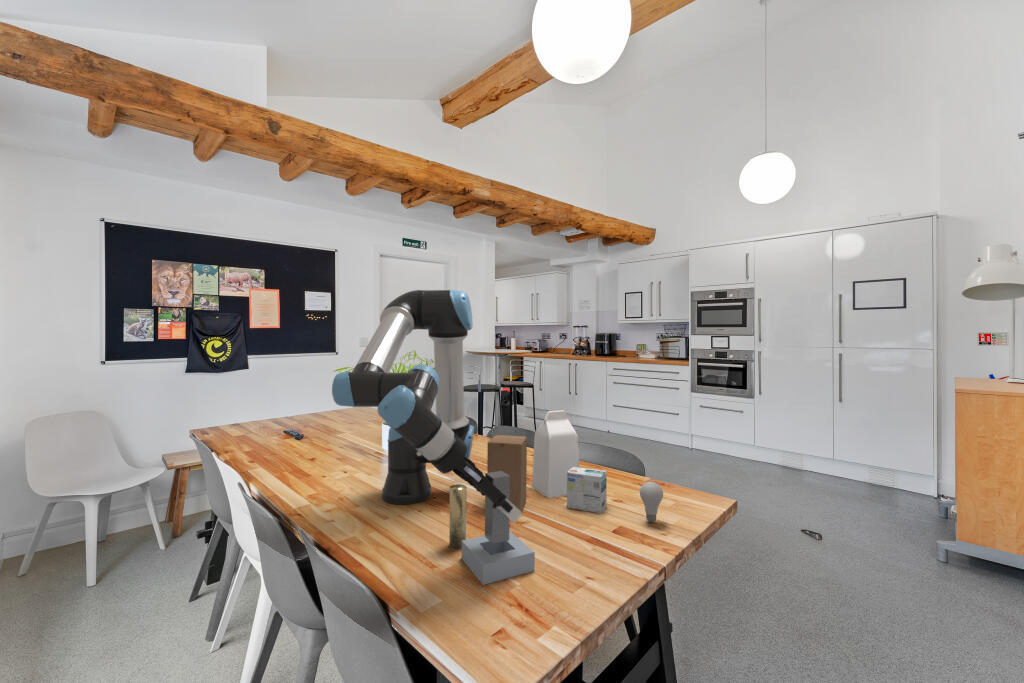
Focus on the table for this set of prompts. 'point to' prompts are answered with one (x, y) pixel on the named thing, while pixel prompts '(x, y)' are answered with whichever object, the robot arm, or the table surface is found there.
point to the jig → (497, 558)
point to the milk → (554, 454)
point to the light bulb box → (586, 489)
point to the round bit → (457, 516)
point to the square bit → (497, 510)
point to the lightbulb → (651, 499)
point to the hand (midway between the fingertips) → (512, 513)
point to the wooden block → (510, 464)
